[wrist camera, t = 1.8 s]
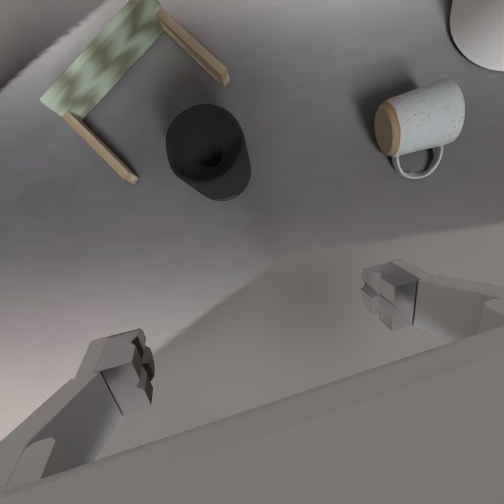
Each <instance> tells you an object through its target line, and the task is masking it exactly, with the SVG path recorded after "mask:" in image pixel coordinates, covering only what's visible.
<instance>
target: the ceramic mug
mask: <svg viewBox="0 0 504 504" xmlns="http://www.w3.org/2000/svg"><path fill="white" fill-rule="evenodd" d="M464 117H465V104H464V98H463V94H462V91H461V89H460V87H459V86H458V85H457V83H456V82H455V81H453V80H451V79H442V80H439V81H437V82H434V83H431V84H428V85H426V86H423V87H420V88H417V89H414V90H412V91H409V92H406V93H404V94H401V95H398V96H395V97H392V98H390V99H388V100H387V101H385V102H383V103H382V104H381V105H380V106H379V107H378V109H377V111H376V114H375V119H374V130H375V136H376V140H377V143H378V146H379V148H380V149H381V151H382V152H383V153H384V154H386V155H388V156H392V162H393V166H394V168H395V170H396V172H397V173H398V174H400V175H401V176H403V177H406V178H409V179H418V178H423V177H425V176H428V175H429V174H431V173H432V172H433V171H434V170H435V168H436V167H437V166H438V164H439V162H440V160H441V157H442V153H443V146H444V145H445V144H448V143H450V142H453V141H454V140H455V139H456V138H457V137H458V135H459V133H460V131H461V129H462V126H463V122H464ZM433 147H435V153H434V157H433V160H432V162H431V164H430V166H429V168H428V169H427V170H426V171H423V172H419V173H411V172H407V173H405V172H404V171H403V170H402V169H401V166H400V163H399V156H400V155H404V154H408V153H412V152H415V151H419V150H424V149H429V148H433Z"/></svg>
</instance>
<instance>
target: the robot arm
mask: <svg viewBox="0 0 504 504" xmlns="http://www.w3.org/2000/svg"><path fill="white" fill-rule="evenodd" d="M450 29H451V34H452V37H453V40H454V42H455V44H456V45H457V47H458V48H459V50H460V51H461V52H462V53H463V54H464V56H466V57H467V58H468V59H469V60H470V61H472V62H474V63H475V64H477V65H479V66H481V67H484V68H487V69H491V70H496V71H504V0H452V8H451V14H450ZM362 280H363V281H364V282H365V284H364V286H363V288H362V289H361V291H362V292H361V293H362V299H363V302H364V305H365V306H366V308H367V309H368V310H369V311H370V312H371V313H374V314H378V315H379V320H380V321H381V322H382V323H384V324H385V325H386V326H387V327H388V328H389V329H390V330H391V331H393V330H397V329H400V328H404V327H407V326H411V325H414V326H415V327H417V328H419V329H422V330H425V331H427V332H429V333H432V334H434V335H436V336H439V337H442V338H444V339H446V340H449V341H451V343H448V344H445V345H442V346H440V347H436V348H433V349H430V350H428V351H424V352H421V353H418V354H415V355H412V356H409V357H406V358H403V359H400V360H397V361H394V362H391V363H388V364H385V365H382V366H379V367H376V368H373V369H370V370H367V371H364V372H361V373H358V374H355V375H352V376H349V377H346V378H343V379H340V380H337V381H334V382H331V383H328V384H325V385H322V386H319V387H316V388H313V389H310V390H307V391H304V392H301V393H298V394H295V395H292V396H289V397H286V398H283V399H280V400H277V401H274V402H271V403H268V404H265V405H262V406H259V407H256V408H253V409H250V410H247V411H244V412H241V413H238V414H235V415H232V416H229V417H226V418H223V419H220V420H217V421H214V422H211V423H208V424H205V425H202V426H198V427H195V428H192V429H189V430H186V431H183V432H180V433H177V434H175V435H171V436H169V437H165V438H163V439H160V440H157V441H153V442H150V443H147V444H145V445H141V446H138V447H135V448H132V449H129V450H126V451H123V452H120V453H118V454H115V455H111V456H108V457H105V458H102V459H99V460H96V461H95V459H96V458H97V456H98V455H99V453H100V451H101V450H102V449H103V447H104V445H105V444H106V442H107V441H108V439H109V438H110V436H111V435H112V433H113V432H114V430H115V429H116V427H117V426H118V424H119V423H120V421H121V420H122V418H123V415H126V414H129V413H132V412H135V411H138V410H141V409H143V408H146V407H150V406H151V404H152V395H153V386H152V384H151V381H152V379H153V378H154V374H155V365H154V359H153V355H152V352H151V349H150V348H148V347H147V346H145V343H146V337H145V334H144V332H143V330H141V329H137V330H133V331H129V332H125V333H120V334H116V335H112V336H109V337H104V338H101V339H97V340H94V341H92V342H91V343H90V345H89V347H88V349H87V352H86V354H85V356H84V358H83V361H82V363H81V365H80V368H79V370H78V372H77V375H76V377H75V379H72V380H69V381H68V382H67V383H66V384H65V385H63V386H62V387H61V388H60V389H59V390H58V391H57V392H56V393H55V394H53V395H52V396H51V397H50V398H49V399H48V400H47V401H46V402H44V403H43V404H42V405H41V406H40V407H39V408H38V409H37V410H36V411H34V412H33V413H32V414H31V415H30V416H29V417H28V418H27V419H25V420H24V421H23V422H22V423H21V424H20V425H19V426H18V427H17V428H15V429H14V430H13V431H12V432H11V433H10V434H9V435H8V436H6V437H5V438H4V439H3V440H2V441H1V442H0V504H504V286H500V285H494V284H488V283H483V282H476V281H471V280H465V279H459V278H454V277H448V276H442V275H437V276H434V275H432V274H430V273H429V272H427V271H425V270H423V269H421V268H419V267H417V266H416V265H414V264H412V263H410V262H408V261H406V260H404V259H396V260H392V261H389V262H387V263H383V264H380V265H376V266H373V267H369V268H366V269H363V271H362Z"/></svg>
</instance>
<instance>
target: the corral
mask: <svg viewBox="0 0 504 504" xmlns="http://www.w3.org/2000/svg"><path fill="white" fill-rule="evenodd" d="M163 32H165V33H166V34H167V35H169V36H170V37H171V38H172V39H173V40H174V41H175V42H176V43H177V44H178V45H179V46H180V47H181V48H183V49H184V50H185V51H186V52H187V53H188V54H189V55H190V56H191V57H192V58H193V59H194V60H195V61H197V62H198V63H199V64H200V65H201V66H202V67H203V68H204V69H205V70H206V71H207V72H208V73H210V74H211V75H212V76H213V77H214V78H215V79H216V80H217V81H218V82H219V83H220V84H221V85H222V86H224V87H226V86H227V85H228V84H229V83H230V78H229V74H228V71H227V68H226V67H225V66H224V65H223V64H222V63H221V62H219V61H218V60H217V59H216V58H215V57H214V56H213V55H212V54H211V53H210V52H209V51H208V50H206V49H205V48H204V47H203V46H202V45H201V44H200V43H199V42H198V41H197V40H196V39H194V38H193V37H192V36H191V35H190V34H189V33H188V32H187V31H186V30H185V29H184V28H182V27H181V26H180V25H179V24H178V23H177V22H176V21H175V20H174V19H173V18H172V17H170V16H169V15H168V14H167V13H166V12H165V11H164V10H163V9H162V8H161V6H160V4H159V2H158V0H130V1H129V2H128V3H127V4H126V5H125V6H124V7H123V8H122V10H121V11H120V12H119V13H118V14H117V15H116V16H115V17H114V18H113V19H112V20H111V22H110V23H109V24H108V25H107V26H106V27H105V28H104V29H103V30H102V31H101V33H100V34H99V35H98V36H97V37H96V38H95V39H94V40H93V41H92V42H91V44H90V45H89V46H88V47H87V48H86V49H85V50H84V51H83V52H82V53H81V55H80V56H79V57H78V58H77V59H76V60H75V61H74V62H73V63H72V64H71V66H70V67H69V68H68V69H67V70H66V71H65V72H64V73H63V74H62V75H61V76H60V78H59V79H58V80H57V81H56V82H55V83H54V84H53V85H52V86H51V87H50V89H49V90H48V91H47V92H46V93H45V94H44V95H43V96H42V97H41V98H40V101H41V102H42V103H43V104H44V105H45V106H47V107H48V108H50V109H51V110H53V111H54V112H56V113H57V114H59V115H60V116H62V117H63V118H64V119H65V120H66V121H67V122H68V123H69V124H70V125H71V126H72V127H73V128H74V129H75V130H76V131H77V132H78V133H79V134H80V135H81V136H82V137H83V138H84V139H85V140H86V142H87V143H88V144H89V145H90V146H91V147H92V148H93V149H94V150H95V151H96V152H97V153H98V154H99V155H100V156H101V157H102V158H103V159H104V160H105V161H106V162H107V163H108V164H109V165H110V166H111V167H112V168H113V169H114V170H115V171H116V172H117V173H118V174H119V175H120V176H121V177H122V178H123V179H125V180H127V181H129V182H131V183H132V184H135V182H136V181H137V180H138V179H139V178H138V177H137V176H136V175H135V174H134V173H133V172H132V171H131V170H130V169H129V168H128V167H127V166H126V165H125V164H124V163H123V162H122V161H121V160H120V159H119V158H118V157H117V156H116V155H115V154H114V153H113V152H112V151H111V150H110V149H109V148H108V147H107V146H106V145H105V144H104V143H103V142H102V141H101V140H100V139H99V138H98V137H97V136H96V135H95V134H94V133H93V132H92V131H91V130H90V129H89V128H88V127H87V126H86V125H85V124H84V123H83V122H82V120H83V119H84V118H85V116H86V115H87V114H88V113H89V112H90V111H91V110H92V109H93V108H94V107H95V106H96V104H97V103H98V102H99V101H100V100H101V99H102V98H103V97H104V96H105V95H106V94H107V93H108V91H109V90H110V89H111V88H112V87H113V86H114V85H115V84H116V83H117V82H118V81H119V80H120V78H121V77H122V76H123V75H124V74H125V73H126V72H127V71H128V70H129V69H130V68H131V67H132V65H133V64H134V63H135V62H136V61H137V60H138V59H139V58H140V57H141V56H142V55H143V54H144V52H145V51H146V50H147V49H148V48H149V47H150V46H151V45H152V44H153V43H154V42H155V41H156V39H157V38H158V37H159V36H160V35H161V34H162V33H163Z"/></svg>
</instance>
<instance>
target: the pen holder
mask: <svg viewBox="0 0 504 504" xmlns="http://www.w3.org/2000/svg"><path fill="white" fill-rule="evenodd" d="M166 150H167V156H168V160H169V164H170V166H171V169H172V170H173V172H174V173H175V174H176V175H177V176H178V177H179V178H180V179H182V180H183V181H184V182H186V183H187V184H188V185H190V186H191V187H193V188H194V189H195V190H197V191H198V192H200V193H201V194H203V195H204V196H206V197H208V198H210V199H212V200H217V201H226V200H230V199H233V198H235V197H237V196H238V195H239V194H241V193H242V192H243V190H244V189H245V188H246V186H247V185H248V182H249V180H250V175H251V166H250V160H249V156H248V151H247V147H246V143H245V138H244V134H243V132H242V129H241V127H240V125H239V123H238V122H237V120H236V119H235V118H234V117H233V115H232V114H231V113H229V112H228V111H227V110H225V109H224V108H222V107H219V106H216V105H210V104H202V105H197V106H193V107H191V108H188V109H187V110H185V111H183V112H182V113H181V114H179V115H178V116H177V117H176V118H175V119H174V121H173V122H172V123H171V125H170V127H169V129H168V131H167V135H166Z"/></svg>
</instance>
